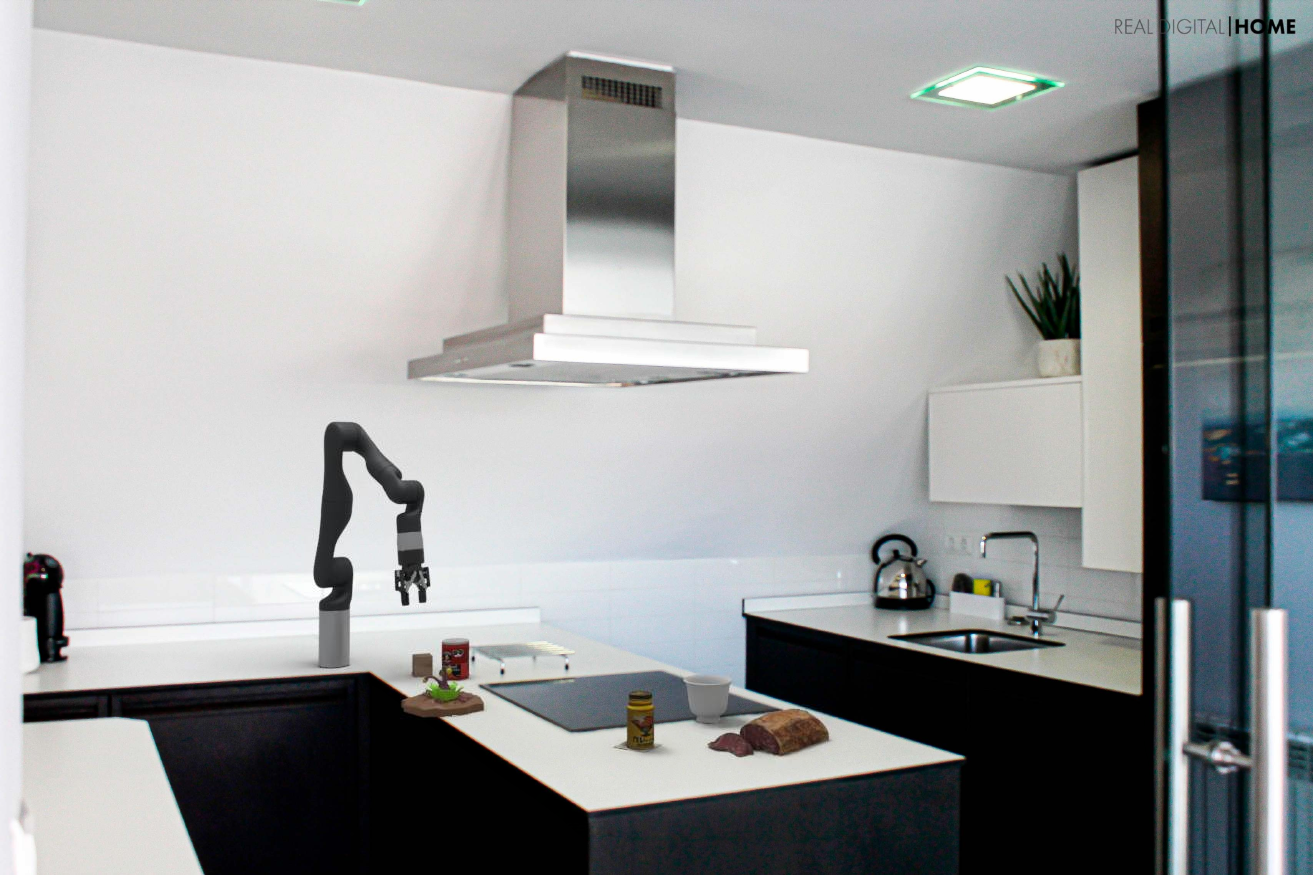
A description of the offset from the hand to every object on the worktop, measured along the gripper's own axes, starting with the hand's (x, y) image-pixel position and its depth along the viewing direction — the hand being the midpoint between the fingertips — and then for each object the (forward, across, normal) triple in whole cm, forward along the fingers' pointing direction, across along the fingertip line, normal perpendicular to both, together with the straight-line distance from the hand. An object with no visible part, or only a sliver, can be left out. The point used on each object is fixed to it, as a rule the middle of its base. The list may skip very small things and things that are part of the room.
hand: (414, 604), depth 319 cm
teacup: (+32, +14, +92) cm, 98 cm away
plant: (+26, +28, +26) cm, 46 cm away
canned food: (+23, -6, +8) cm, 25 cm away
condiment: (+33, +44, +86) cm, 102 cm away
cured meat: (+36, +32, +112) cm, 122 cm away
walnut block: (+21, -6, -3) cm, 22 cm away
